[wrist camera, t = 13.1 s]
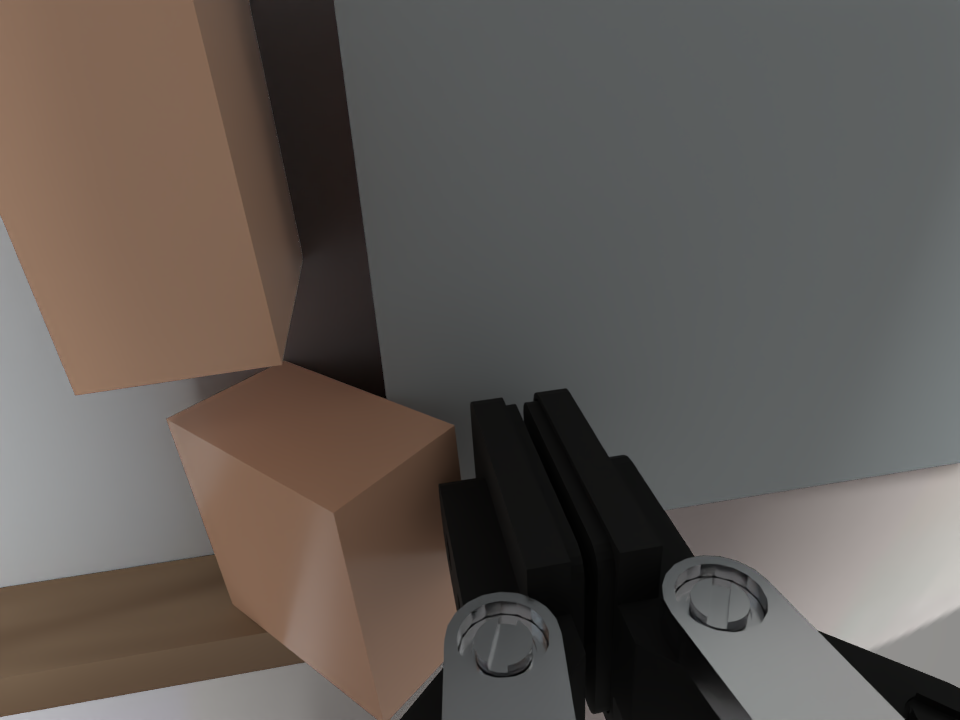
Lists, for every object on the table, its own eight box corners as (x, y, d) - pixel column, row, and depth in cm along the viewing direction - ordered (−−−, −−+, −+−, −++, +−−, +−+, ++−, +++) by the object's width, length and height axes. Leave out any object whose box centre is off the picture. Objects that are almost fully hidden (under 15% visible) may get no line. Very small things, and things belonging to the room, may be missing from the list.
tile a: (245, -17, 10) (77, -4, 10) (181, -47, 6) (-99, -26, 6) (303, 257, 12) (165, 275, 12) (281, 364, 8) (75, 394, 8)
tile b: (284, 360, 13) (166, 419, 12) (454, 424, 11) (333, 513, 9) (327, 533, 15) (232, 604, 14) (478, 623, 13) (384, 725, 11)
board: (324, -90, 10) (318, -116, 8) (1164, -119, 12) (1303, -144, 10) (400, 490, 15) (407, 551, 13) (985, 403, 17) (1058, 447, 15)
